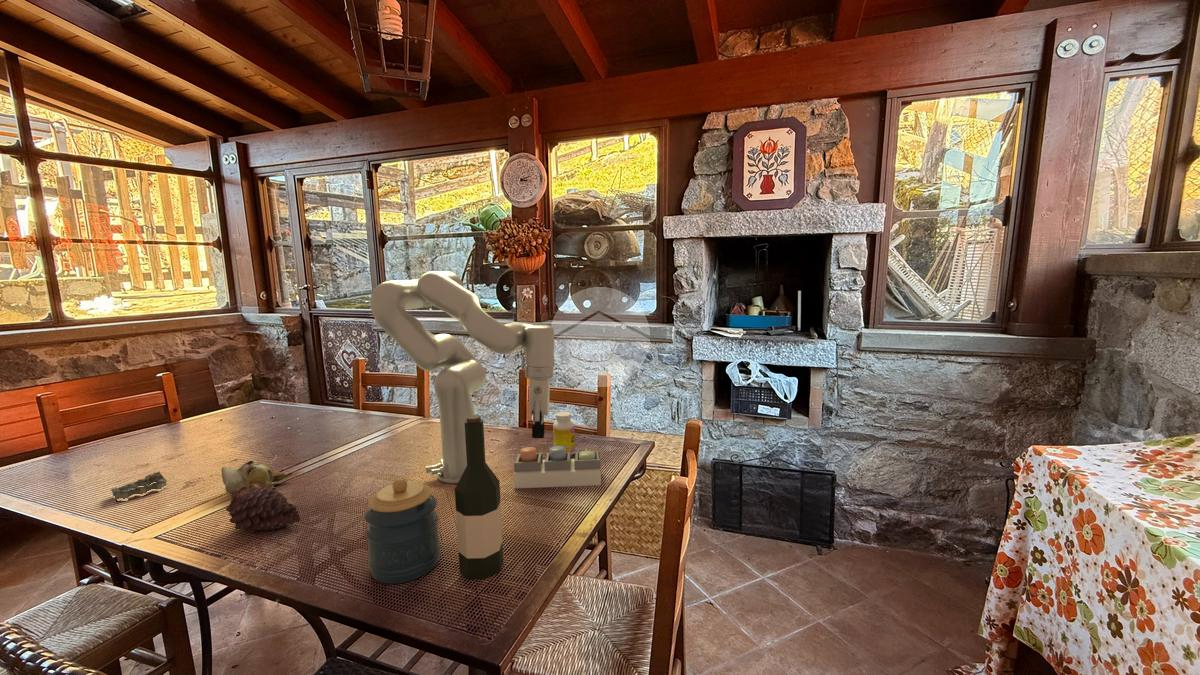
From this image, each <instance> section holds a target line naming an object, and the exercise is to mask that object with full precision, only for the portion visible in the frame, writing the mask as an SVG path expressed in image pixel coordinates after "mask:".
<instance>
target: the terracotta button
mask: <svg viewBox="0 0 1200 675" xmlns="http://www.w3.org/2000/svg"><path fill="white" fill-rule="evenodd" d="M537 453H538V452H537V448H536V447H533V446H527V447H526V446H525V447H523V448H521V449H519V454H520V458H521V462H534V461H537Z"/></svg>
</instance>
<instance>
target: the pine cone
mask: <svg viewBox="0 0 1200 675" xmlns="http://www.w3.org/2000/svg"><path fill="white" fill-rule="evenodd" d="M247 489H248V488H247V487H242V488H241V489H239V490H238V491H233V492H231V494H230V495H232V496H231V500H230V503H229V505H227V506H226V508H225V511H226V512H229V513H228V515H229V516H230V518H229V522H230V524H235V525H234V529H235V530H244V531H245V532H246V533H252V532H254V531H255V530H259V531H263V530H265V531H267V530H269V531H270V530H271V531H273V530H275V529H281V528H282V527H288V526H289V525H293V524H295V523H296V522H297V523H298V522H300V520H301V517H300V516H301V515H300V514H299V511H298V510H297V506H296V505H294V504H292V503H290V502H288V499H287V498H286V497H285V496H284V494H283V493H281V492H279V490H277V489H275V490H272V489H271V488H268V489H267V488H263V487H262V488H258V487H256V486H252V487H251V488H250V490H247Z"/></svg>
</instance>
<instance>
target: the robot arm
mask: <svg viewBox="0 0 1200 675" xmlns="http://www.w3.org/2000/svg"><path fill="white" fill-rule="evenodd" d="M370 295H371V296H370V311H371V313H372V316H373V318H374V320H375V321H376V323H377V324H378V326H380V327H381V329H382V330H383V331H384V332H386V333H387V335H389V336H390V337H391V338H392V339H393V341H395V342H396V343H397V345H398V346H399V347H400V348H401V350H402V351H403V352H405V354H406V355H407V356H408V357H409V358H410V359H411V360H412V361H413V363H414V364H415V365H417V367H419V368H420V369H421V370H423V371H425V372H433V371H435V370H440V369H441V368H443V369H442V370H440V371H439V373H437V375H436V377H435V379H434V385H433V386H434V387H433V388H434V394H435V397H436V402H437V406H438V414H439V424H440V438H441V440H440V441H441V453H442V455H441V456H442V459H440V461H439V462H437V463H436V464H433V465H432V464H431V465H426V466H425V469H424V470H425V474H429V473H430V474H431V475H432V476H433V475H437V478H438V480H439V481H440V482H442V483H446V484H458V482H459V480H460V478H461V476H462V474H463V472H464V470H465V468H466V467H467V457H466V439H465V421H466V420H467V417H468V416H471V415H476V411H475V407H474V404H473V401H472V396H471V394H473V393H474V392H476V391H478V390H480V389H481V388H482V387H483V386H484V385H485V383H486V378H487V373H486V370H485V368H484V366H483V365H482V363H481V362H480V360H478V359H477V357H476V356H475V355H474V354H473V353H472V352H471V351H470V350H469V349H468V348H467V347H466V346H465V345H464V344H463V343H462V342H461V340H460V339H458V338H457V337H456V336H454V335H451V334H448V333H439V334H434V333H432V332H431V331H430V330H429V329H428V328H427V327H426V326H424V324H423V323H422V322H421V321H420V320H419V319H417V318H416V317H414V316H413V315H412V314H410V313H408V312H407V311H409V310H415V309H416V310H417V309H421V308H427V307H431V306H434V307H436V308H437V309H440V310H441V311H442V312H444V313H446V314H447V315H448V316H450V317H451V318H453V319H454V320H456V321H457V322H459V323H460V324H461V326H462V327H463V329H464V330H465V331H466V332H467V334H468V335H469V336H470V337H471V338H472V339H474V341H477V343H479V344H481V345H483V346H484V347H485V348H487V349H488V350H490V351H492V352H494V353H497V354H500V355H509V354H512V353H513V352H516V351H520V350H524V349H525V350H524V351H525V357H524V358H525V361H524V362H525V365H524V372H525V373H524V377H525V378H526V379H528V380H529V383H528V384H529V385H528V396H529V399H528V400H529V401H528V402H529V403H528V404H529V415H530V416H531V417H532V423H531V438H532V439H544V438H545V417H548V415H549V412H550V405H551V404H550V400H551V399H550V397H551V396H550V395H551V393H550V392H551V391H550V390H551V379H553V378H554V370H555V369H554V367H555V366H554V361H555V358H554V357H555V330H554V327H553V326H550V325H547V324H528V323H524V322H520V321H513V322H509V323H505V324H503V323H501V322H500V321H498V320H496V318H493V317H492V316H491V315H489V314H488V313H486V312H485V311H484V310H483V308H482V306H481V299H480V296H478V295H476V294H475V293H474V292H472V291H471V290H469V289H467V288H466V287H464V283H463V280H462V279H461V278H460V277H459V275H457V274H456V273H454V272H452V271H448V270H447V271H445V270H440V271H439V270H438V271H437V270H431V271H427V272H426V273H425V272H424V274H422V275H421V276H420V277H419V278H417V279H401V280H400V279H398V280H397V279H396V280H388V281H384V282H382V283H379V284H378V285H377V286H375V287H374V289H373V290H372V293H371V294H370Z"/></svg>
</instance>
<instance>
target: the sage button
mask: <svg viewBox="0 0 1200 675" xmlns="http://www.w3.org/2000/svg"><path fill="white" fill-rule="evenodd" d="M579 452H580V453H579V460H592V459H595V452H593V451H592V450H584V451H583V450H582V451H579Z"/></svg>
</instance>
